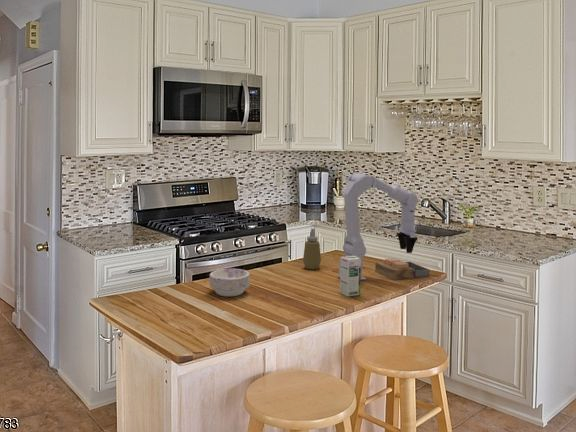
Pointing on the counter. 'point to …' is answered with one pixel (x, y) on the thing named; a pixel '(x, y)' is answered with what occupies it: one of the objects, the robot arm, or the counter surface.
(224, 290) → the marbled grey bowl
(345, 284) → the syrup box
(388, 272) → the brown flat block
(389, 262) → the tile far
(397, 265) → the tile near
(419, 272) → the tray
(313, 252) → the squeeze bottle
